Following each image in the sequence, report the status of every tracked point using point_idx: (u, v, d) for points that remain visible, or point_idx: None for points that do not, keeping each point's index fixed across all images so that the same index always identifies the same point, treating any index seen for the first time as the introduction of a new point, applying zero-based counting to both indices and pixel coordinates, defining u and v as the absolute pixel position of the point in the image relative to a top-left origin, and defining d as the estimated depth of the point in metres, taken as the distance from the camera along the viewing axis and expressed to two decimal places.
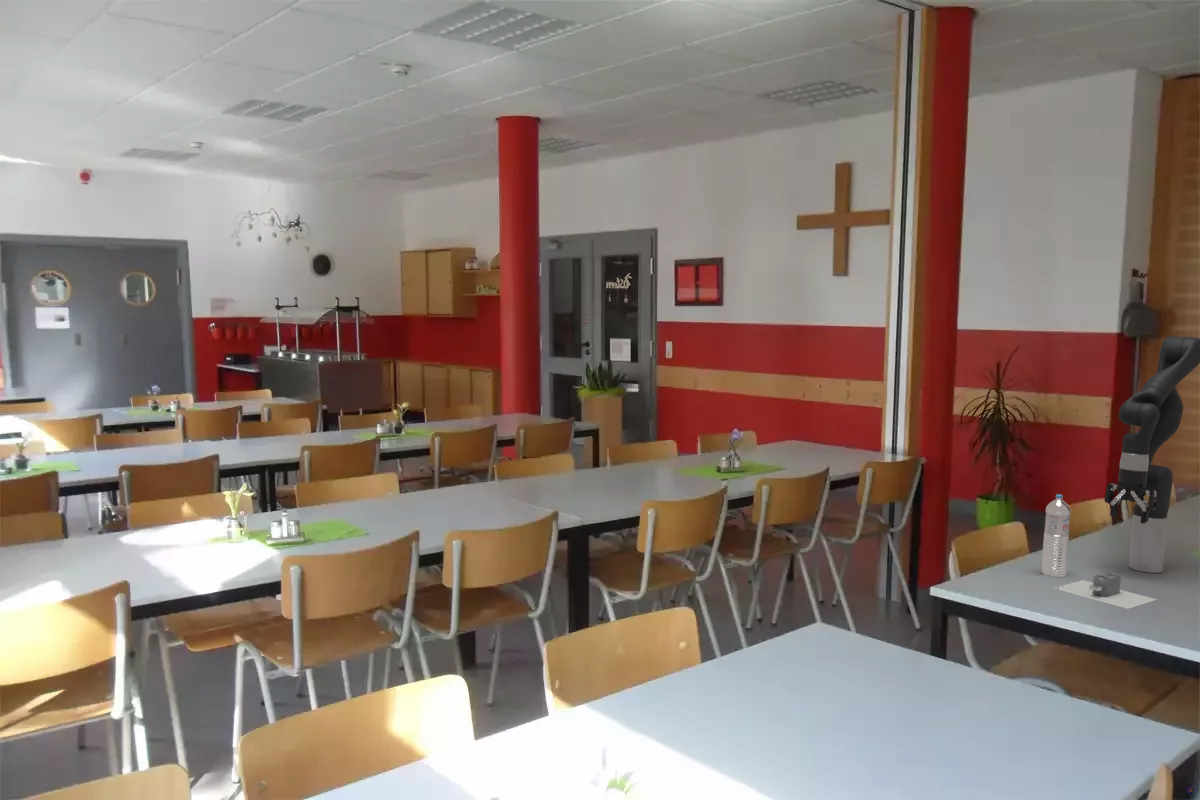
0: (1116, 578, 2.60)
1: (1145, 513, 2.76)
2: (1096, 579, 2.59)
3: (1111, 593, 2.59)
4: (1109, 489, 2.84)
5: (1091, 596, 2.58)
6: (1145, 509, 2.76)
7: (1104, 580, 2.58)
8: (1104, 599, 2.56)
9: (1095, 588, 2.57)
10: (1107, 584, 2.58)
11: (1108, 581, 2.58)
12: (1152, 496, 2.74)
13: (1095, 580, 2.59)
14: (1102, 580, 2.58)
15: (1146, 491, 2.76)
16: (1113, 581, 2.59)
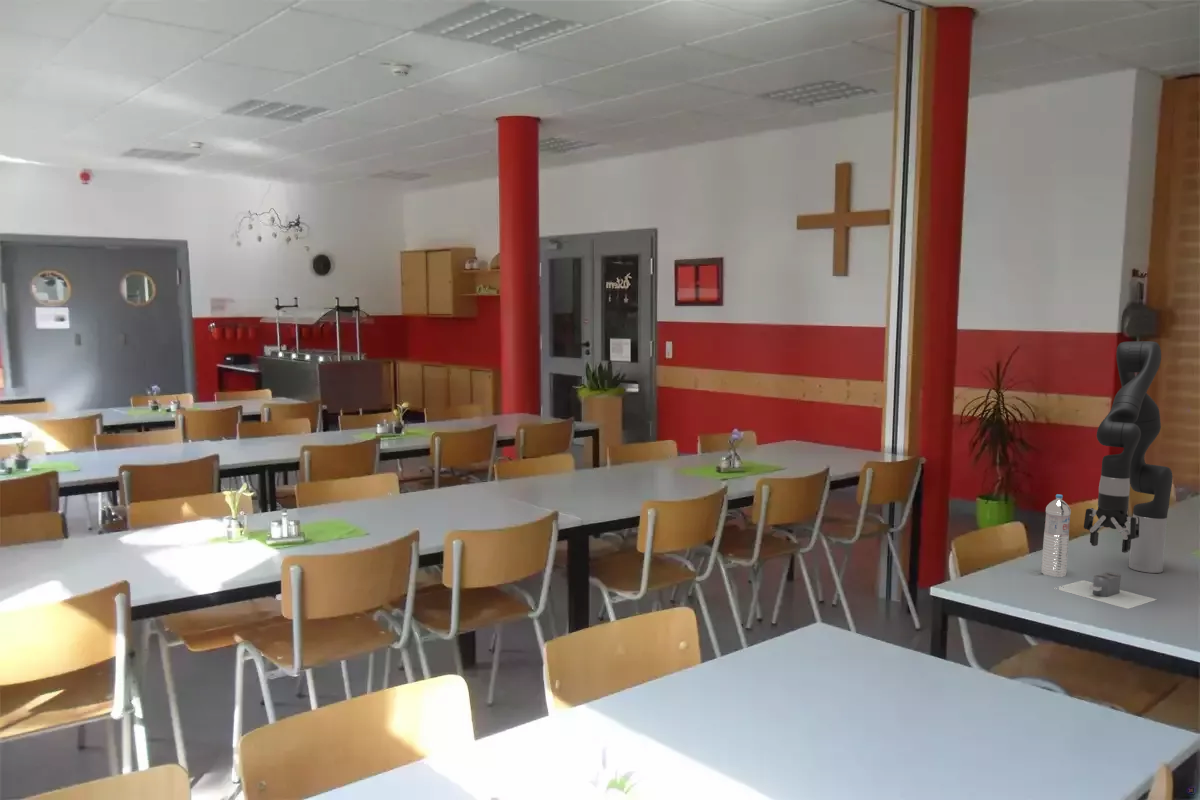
0: (1116, 578, 2.60)
1: (1127, 541, 2.56)
2: (1096, 579, 2.59)
3: (1111, 593, 2.59)
4: (1088, 515, 2.64)
5: (1091, 596, 2.58)
6: (1126, 537, 2.55)
7: (1104, 580, 2.58)
8: (1104, 599, 2.56)
9: (1095, 588, 2.57)
10: (1107, 584, 2.58)
11: (1108, 581, 2.58)
12: (1134, 523, 2.53)
13: (1095, 580, 2.59)
14: (1102, 580, 2.58)
15: (1127, 518, 2.55)
16: (1113, 581, 2.59)
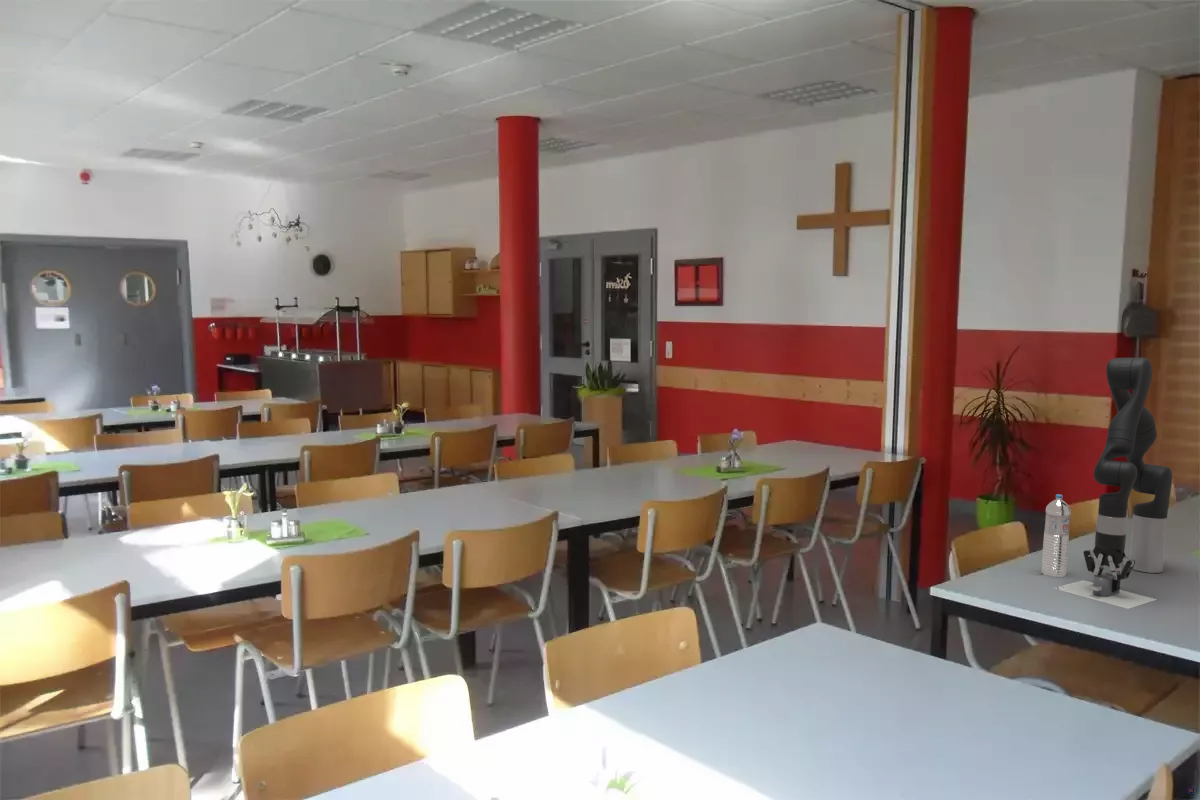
0: None
1: (1116, 581, 2.58)
2: (1096, 579, 2.59)
3: (1111, 593, 2.59)
4: (1087, 556, 2.64)
5: (1091, 596, 2.58)
6: (1116, 577, 2.58)
7: (1104, 580, 2.58)
8: (1104, 599, 2.56)
9: (1095, 588, 2.57)
10: (1107, 584, 2.58)
11: (1108, 581, 2.58)
12: (1128, 566, 2.55)
13: (1095, 580, 2.59)
14: (1102, 580, 2.58)
15: (1124, 558, 2.57)
16: None
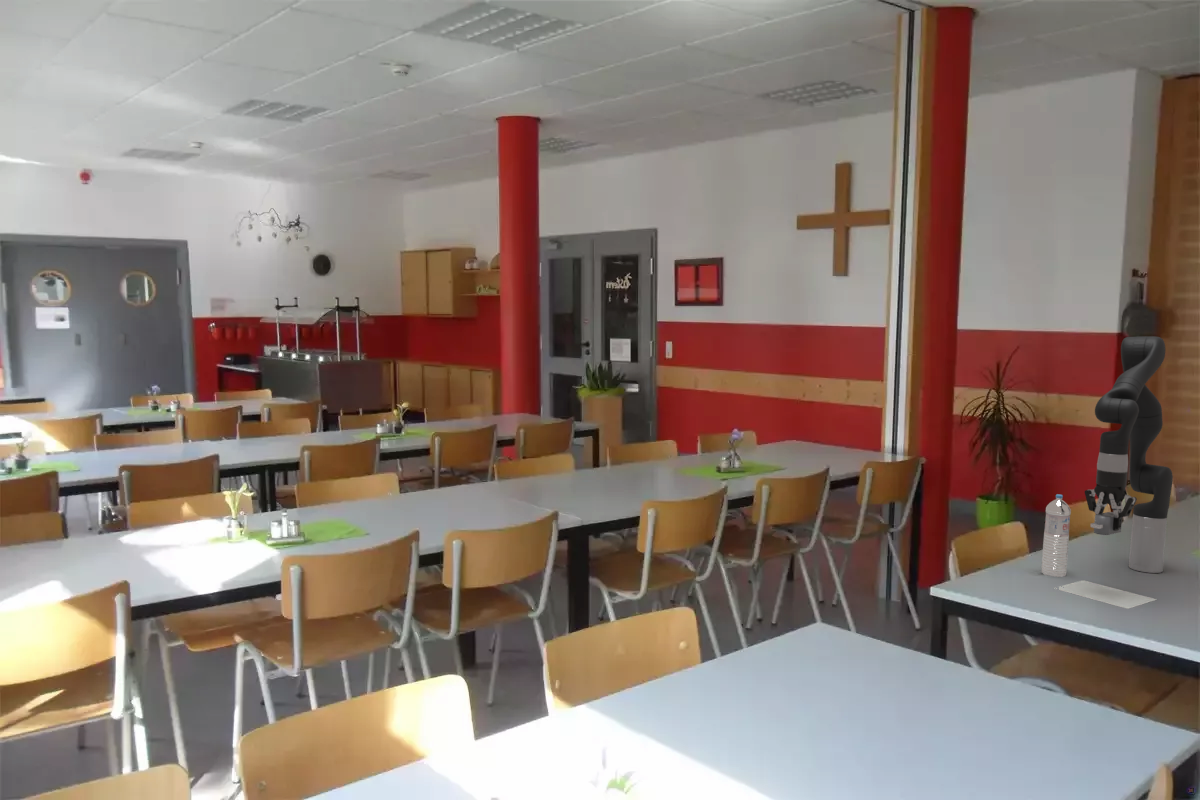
0: None
1: (1117, 519, 2.57)
2: (1097, 517, 2.58)
3: (1112, 531, 2.58)
4: (1088, 496, 2.64)
5: (1091, 596, 2.58)
6: (1117, 515, 2.57)
7: (1105, 518, 2.57)
8: (1104, 599, 2.56)
9: (1096, 526, 2.56)
10: (1108, 522, 2.57)
11: (1109, 519, 2.57)
12: (1129, 504, 2.54)
13: (1096, 518, 2.58)
14: (1103, 518, 2.57)
15: (1125, 496, 2.56)
16: None
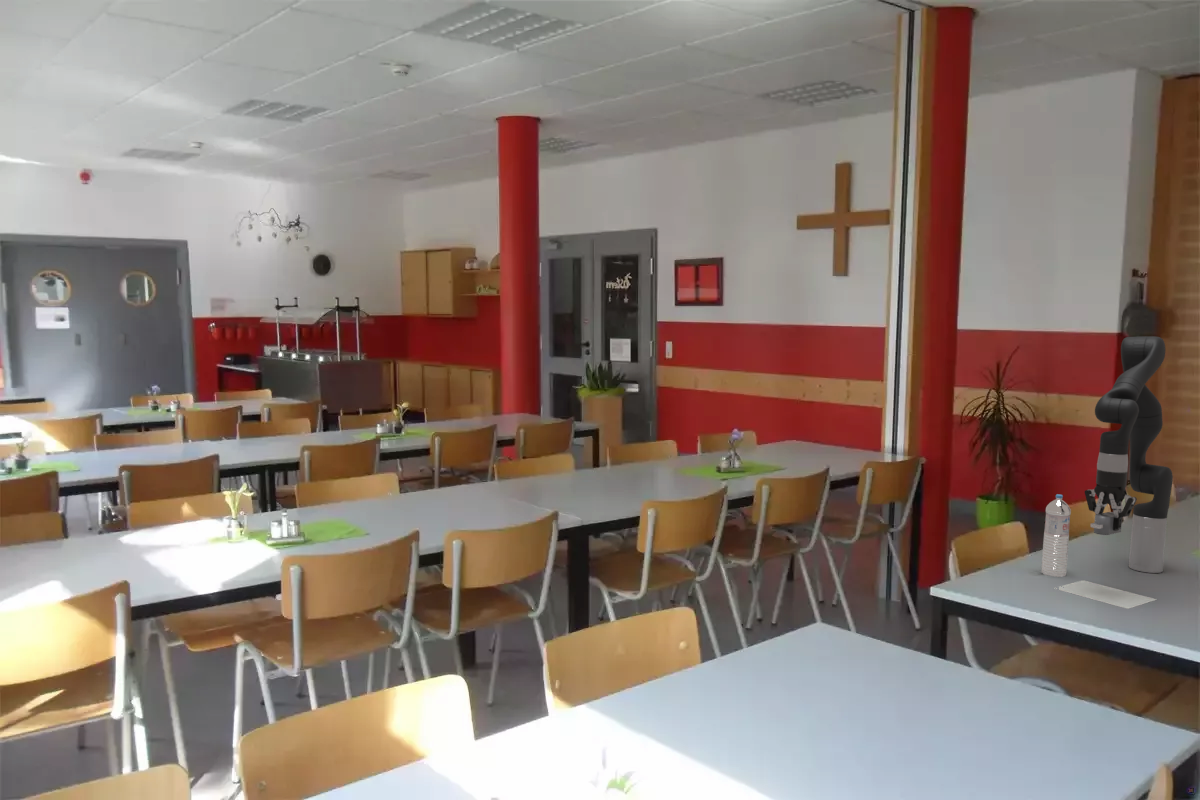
0: None
1: (1117, 519, 2.57)
2: (1097, 517, 2.58)
3: (1112, 531, 2.58)
4: (1088, 496, 2.64)
5: (1091, 596, 2.58)
6: (1117, 515, 2.57)
7: (1105, 518, 2.57)
8: (1104, 599, 2.56)
9: (1096, 526, 2.56)
10: (1108, 522, 2.57)
11: (1109, 519, 2.57)
12: (1129, 504, 2.54)
13: (1096, 518, 2.58)
14: (1103, 518, 2.57)
15: (1125, 496, 2.56)
16: None
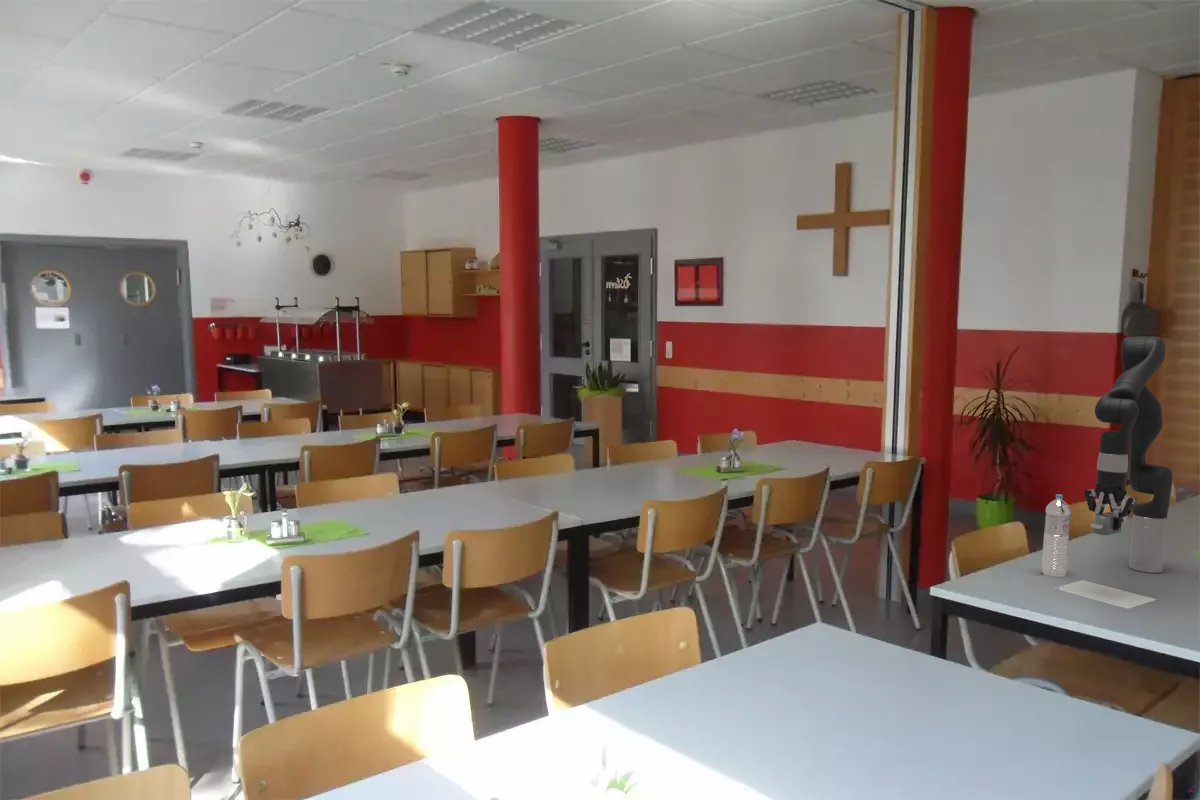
0: None
1: (1117, 519, 2.57)
2: (1097, 517, 2.58)
3: (1112, 531, 2.58)
4: (1088, 496, 2.64)
5: (1091, 596, 2.58)
6: (1117, 515, 2.57)
7: (1105, 518, 2.57)
8: (1104, 599, 2.56)
9: (1096, 526, 2.56)
10: (1108, 522, 2.57)
11: (1109, 519, 2.57)
12: (1129, 504, 2.54)
13: (1096, 518, 2.58)
14: (1103, 518, 2.57)
15: (1125, 496, 2.56)
16: None
